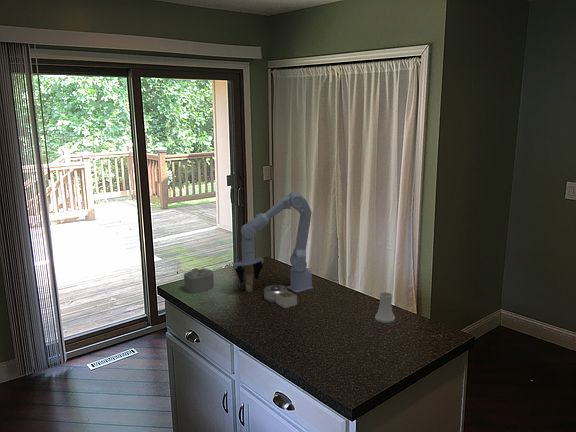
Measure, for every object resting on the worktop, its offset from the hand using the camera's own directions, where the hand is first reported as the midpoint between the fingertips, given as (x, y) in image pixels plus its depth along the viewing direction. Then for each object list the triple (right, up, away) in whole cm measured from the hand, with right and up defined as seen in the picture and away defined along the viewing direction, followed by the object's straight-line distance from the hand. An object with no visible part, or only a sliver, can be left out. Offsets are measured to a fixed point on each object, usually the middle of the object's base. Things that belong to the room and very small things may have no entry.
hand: (248, 280), depth 212 cm
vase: (+55, -11, -28) cm, 63 cm away
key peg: (0, -5, +1) cm, 5 cm away
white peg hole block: (+14, -7, -10) cm, 18 cm away
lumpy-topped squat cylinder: (-23, -5, +6) cm, 24 cm away
